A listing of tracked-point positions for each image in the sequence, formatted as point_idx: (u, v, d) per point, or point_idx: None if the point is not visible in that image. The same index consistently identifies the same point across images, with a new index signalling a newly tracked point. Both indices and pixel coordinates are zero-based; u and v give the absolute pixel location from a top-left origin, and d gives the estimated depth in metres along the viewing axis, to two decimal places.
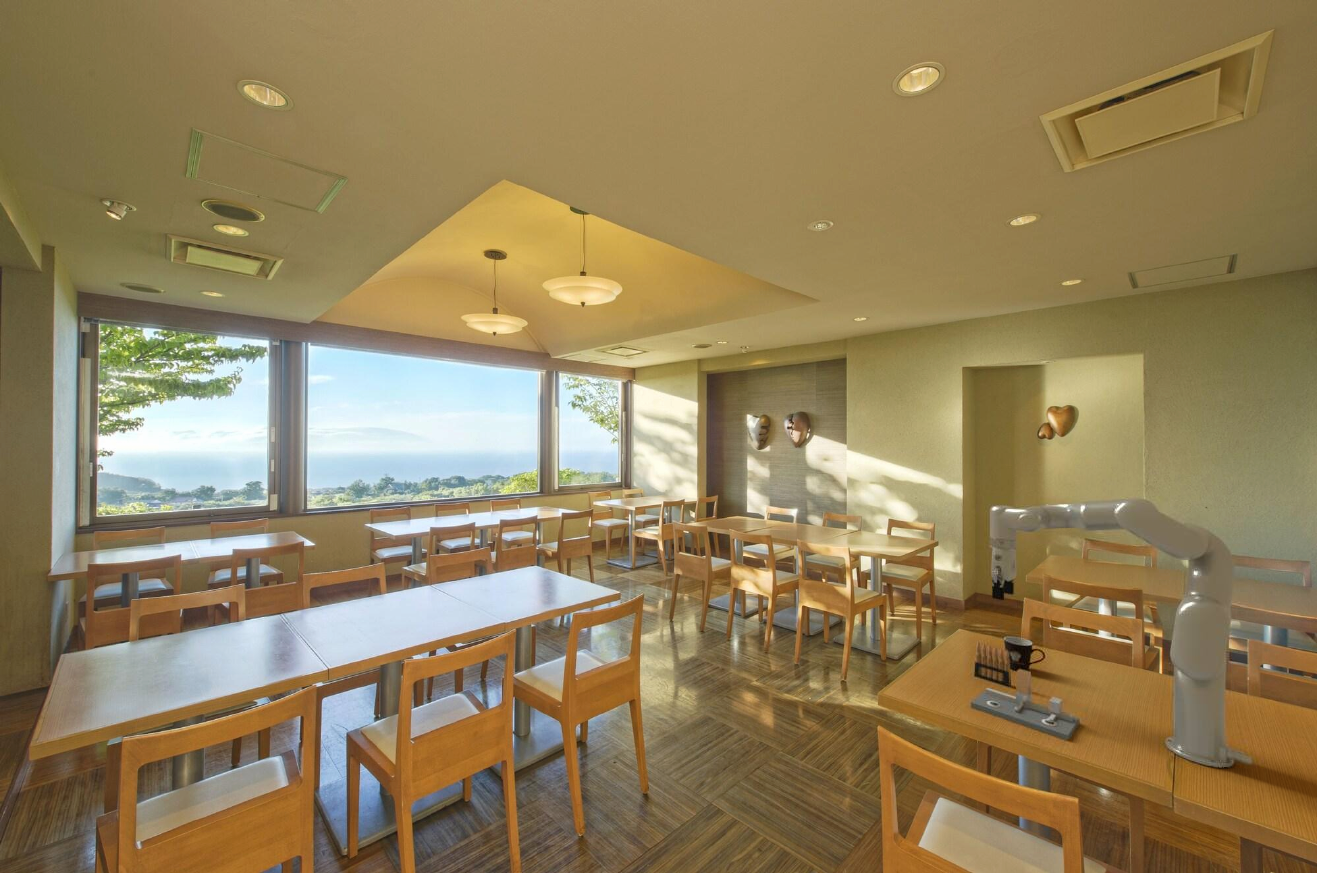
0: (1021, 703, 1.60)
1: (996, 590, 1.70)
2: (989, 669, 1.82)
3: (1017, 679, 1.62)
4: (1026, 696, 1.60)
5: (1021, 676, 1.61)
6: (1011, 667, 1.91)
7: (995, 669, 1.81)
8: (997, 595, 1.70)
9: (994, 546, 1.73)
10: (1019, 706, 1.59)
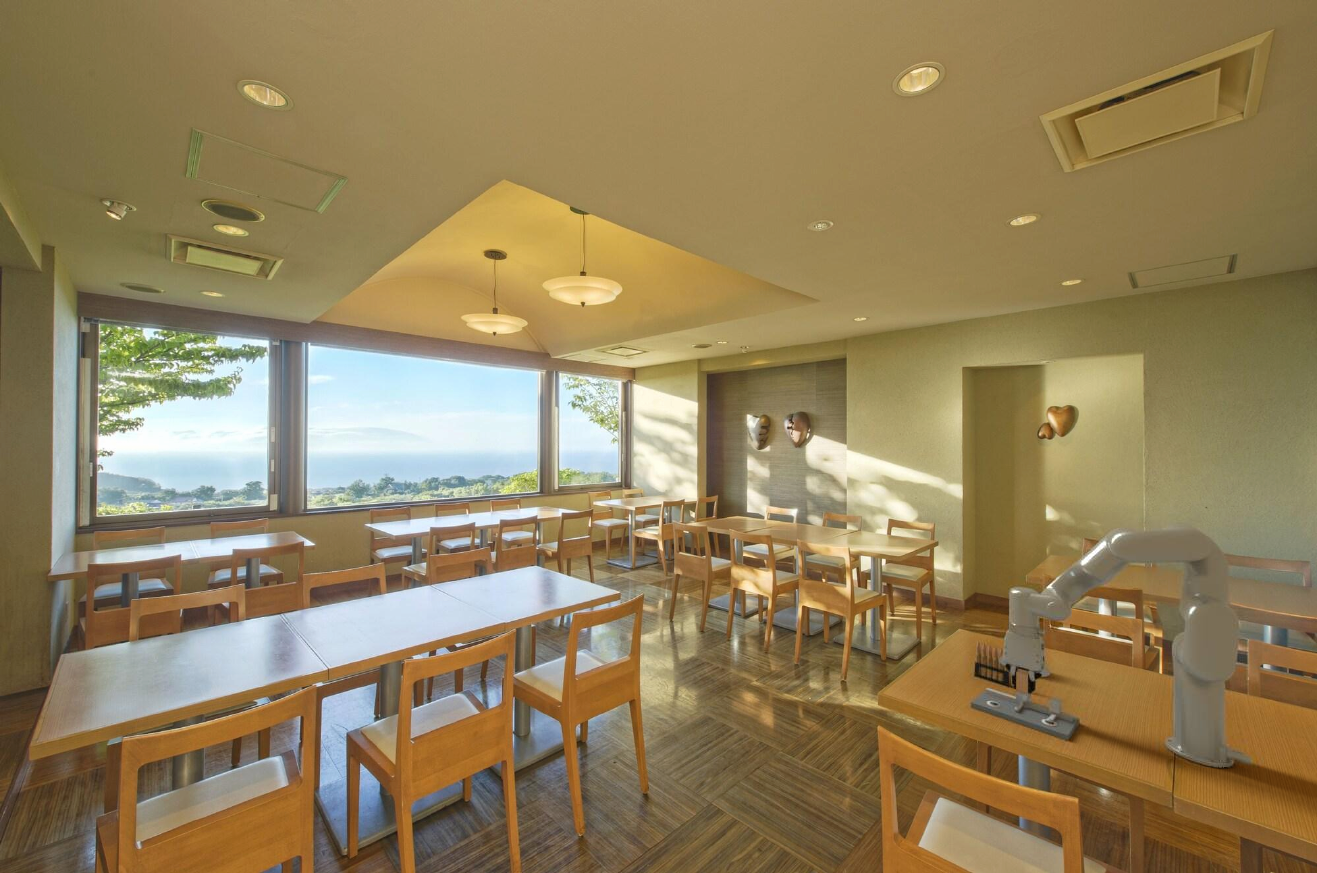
0: (1021, 703, 1.60)
1: (1034, 684, 1.60)
2: (989, 669, 1.82)
3: (1017, 679, 1.62)
4: (1026, 696, 1.60)
5: (1021, 676, 1.61)
6: None
7: (995, 669, 1.81)
8: (1034, 689, 1.60)
9: (1035, 636, 1.59)
10: (1019, 706, 1.59)
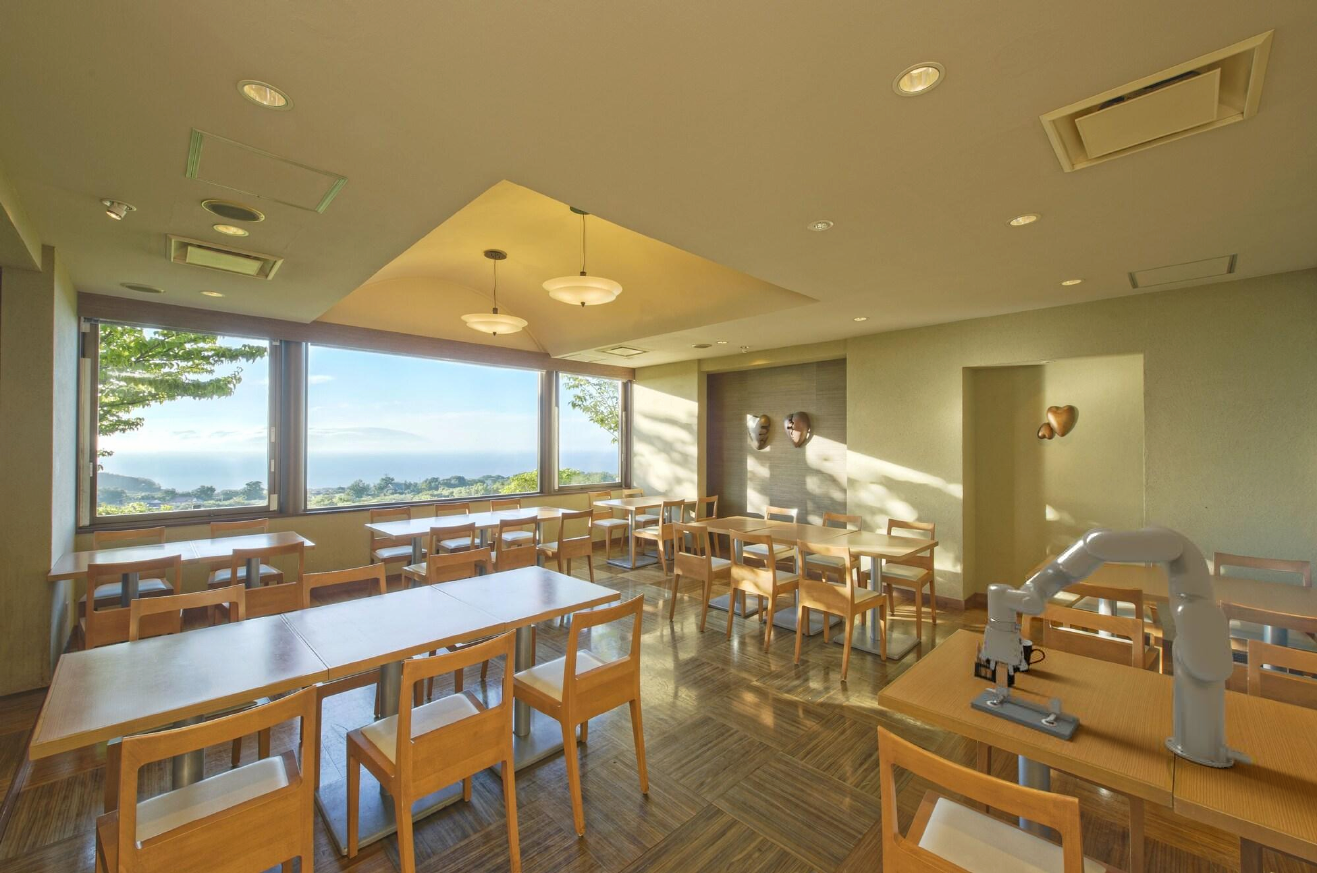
0: (1001, 696, 1.64)
1: (1013, 678, 1.64)
2: (989, 669, 1.82)
3: (997, 673, 1.66)
4: (1005, 690, 1.64)
5: (1001, 670, 1.65)
6: None
7: None
8: (1013, 682, 1.64)
9: (1013, 630, 1.63)
10: (998, 699, 1.63)
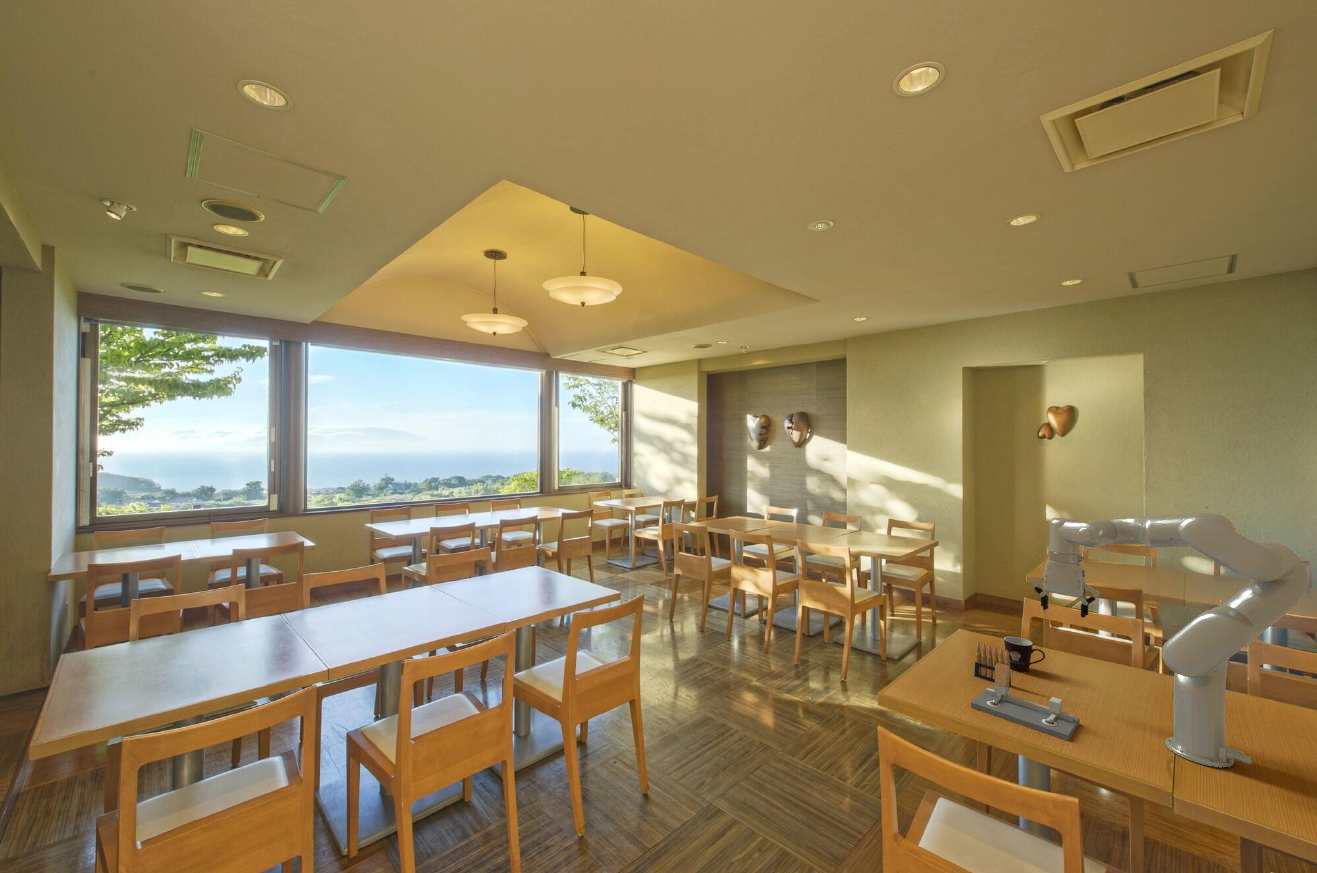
0: (999, 696, 1.65)
1: (1087, 608, 1.62)
2: (989, 669, 1.82)
3: (995, 673, 1.66)
4: (1004, 689, 1.64)
5: (999, 669, 1.66)
6: (1011, 667, 1.91)
7: None
8: (1087, 613, 1.62)
9: (1076, 563, 1.63)
10: (997, 699, 1.64)
